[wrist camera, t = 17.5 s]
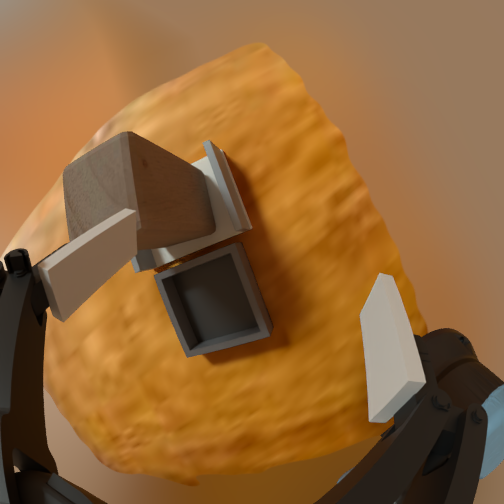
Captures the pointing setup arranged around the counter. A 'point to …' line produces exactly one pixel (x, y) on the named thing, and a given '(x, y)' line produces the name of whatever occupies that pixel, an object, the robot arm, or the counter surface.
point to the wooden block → (138, 192)
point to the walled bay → (223, 206)
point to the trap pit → (214, 301)
